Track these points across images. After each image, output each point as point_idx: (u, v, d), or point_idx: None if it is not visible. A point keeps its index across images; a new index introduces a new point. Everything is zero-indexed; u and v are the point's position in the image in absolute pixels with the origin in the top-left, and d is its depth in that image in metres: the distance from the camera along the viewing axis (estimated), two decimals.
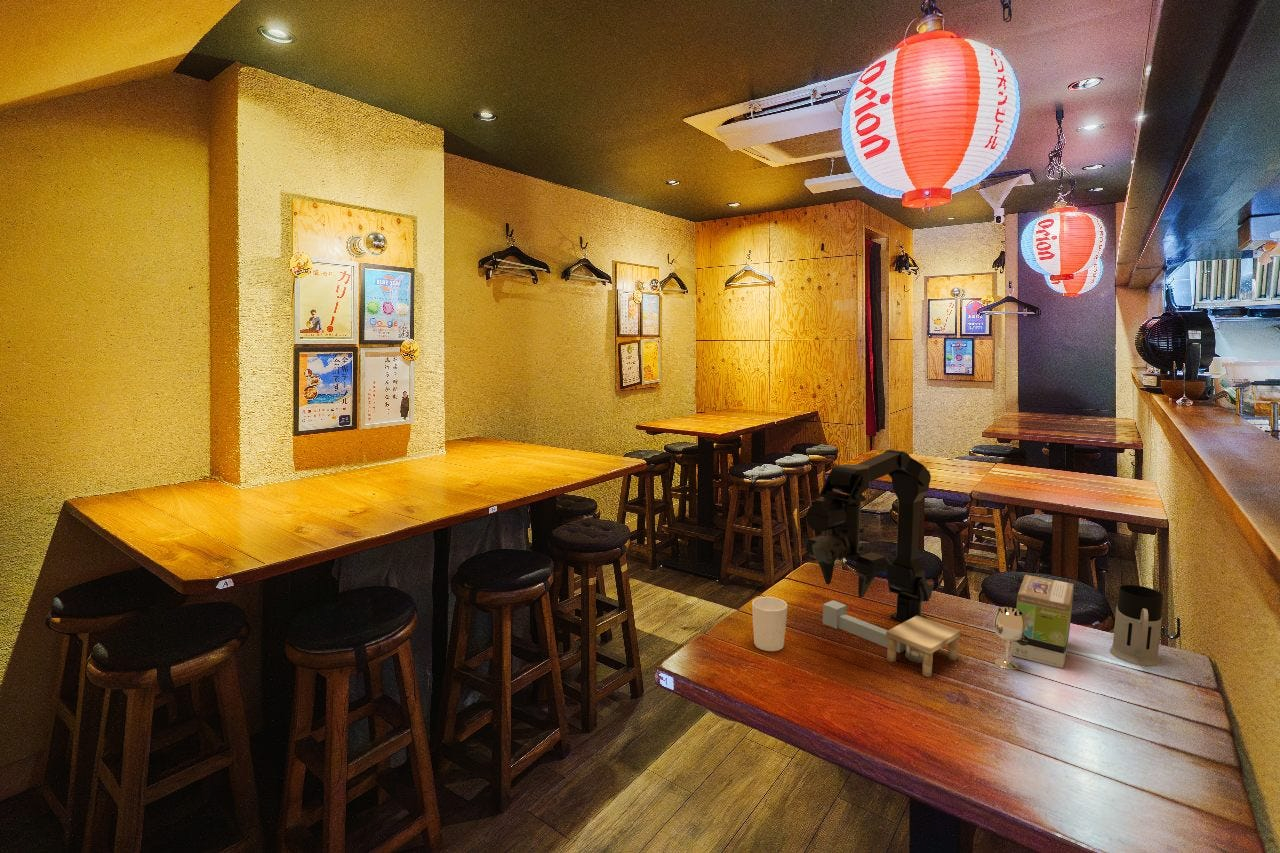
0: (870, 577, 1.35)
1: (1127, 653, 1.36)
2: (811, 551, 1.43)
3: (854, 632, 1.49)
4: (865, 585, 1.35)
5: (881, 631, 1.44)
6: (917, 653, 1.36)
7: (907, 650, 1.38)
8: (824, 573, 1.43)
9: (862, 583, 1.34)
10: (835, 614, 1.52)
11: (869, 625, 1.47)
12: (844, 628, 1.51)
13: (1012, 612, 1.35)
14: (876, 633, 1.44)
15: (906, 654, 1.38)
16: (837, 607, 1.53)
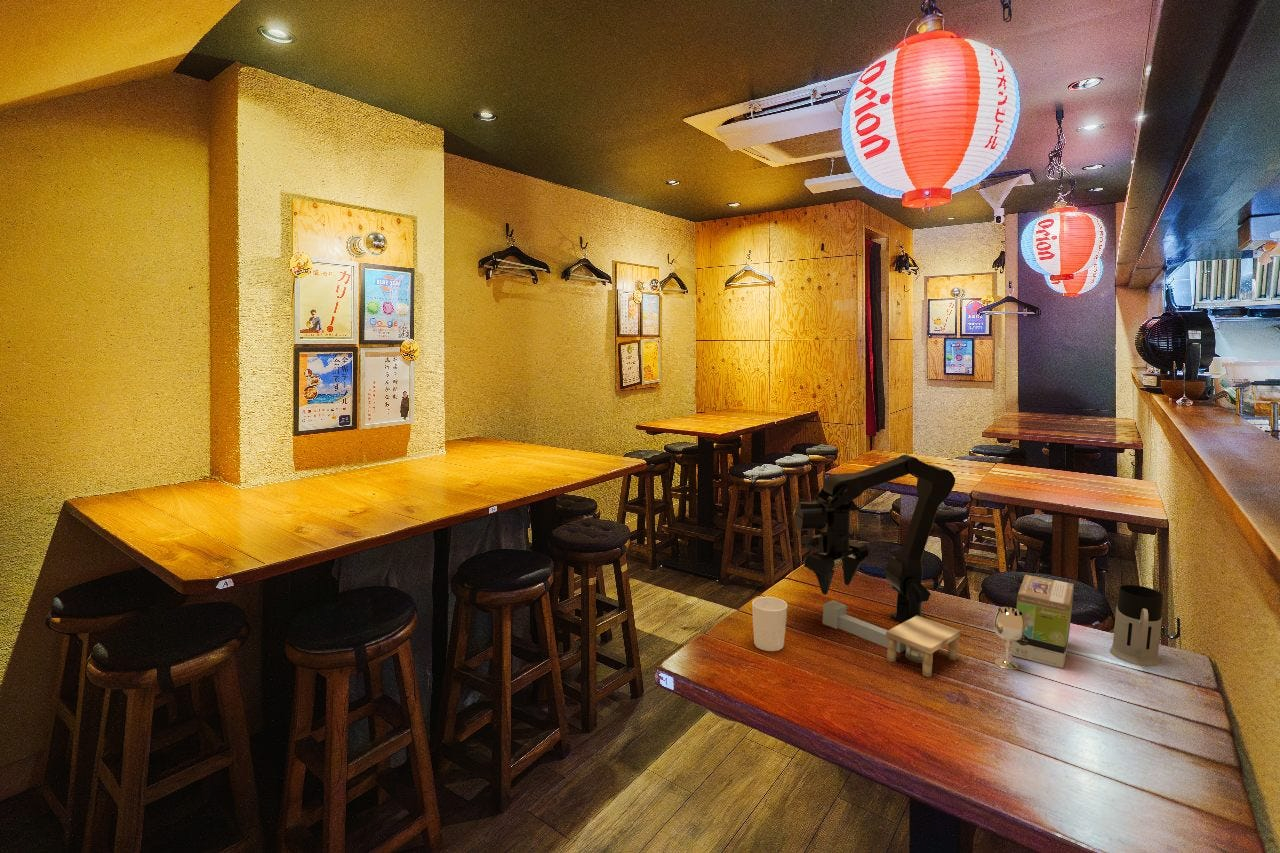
0: (825, 577, 1.49)
1: (1127, 653, 1.36)
2: None
3: (854, 632, 1.49)
4: (822, 583, 1.50)
5: (881, 631, 1.44)
6: (917, 653, 1.36)
7: (907, 650, 1.38)
8: None
9: None
10: (835, 614, 1.52)
11: (869, 625, 1.47)
12: (844, 628, 1.51)
13: (1012, 612, 1.35)
14: (876, 633, 1.44)
15: (906, 654, 1.38)
16: (837, 607, 1.53)
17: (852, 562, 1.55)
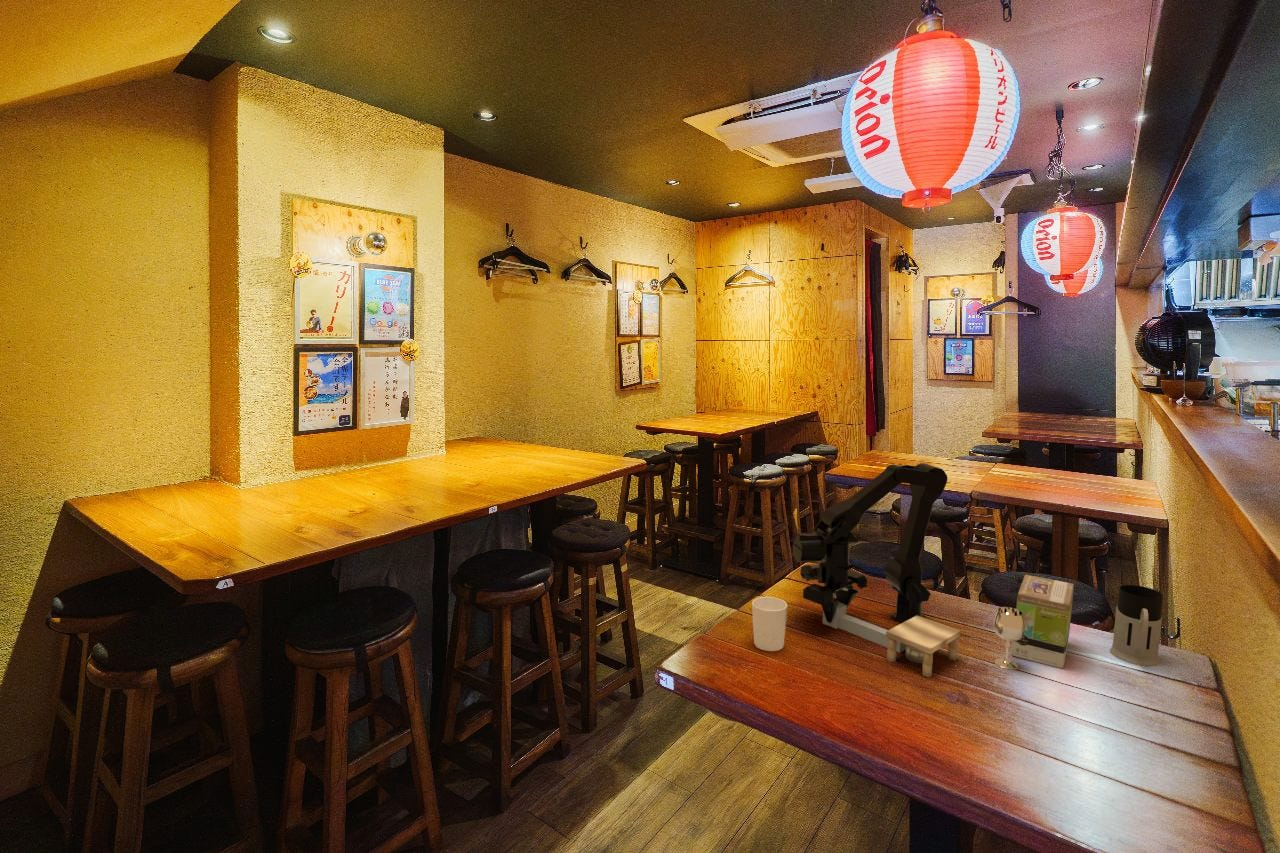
0: (829, 606, 1.51)
1: (1127, 653, 1.36)
2: None
3: (854, 632, 1.49)
4: (826, 611, 1.53)
5: (881, 631, 1.44)
6: (917, 653, 1.36)
7: (907, 650, 1.38)
8: None
9: None
10: (835, 614, 1.52)
11: (869, 625, 1.47)
12: (844, 628, 1.51)
13: (1012, 612, 1.35)
14: (876, 633, 1.44)
15: (906, 654, 1.38)
16: (837, 607, 1.53)
17: (845, 595, 1.55)
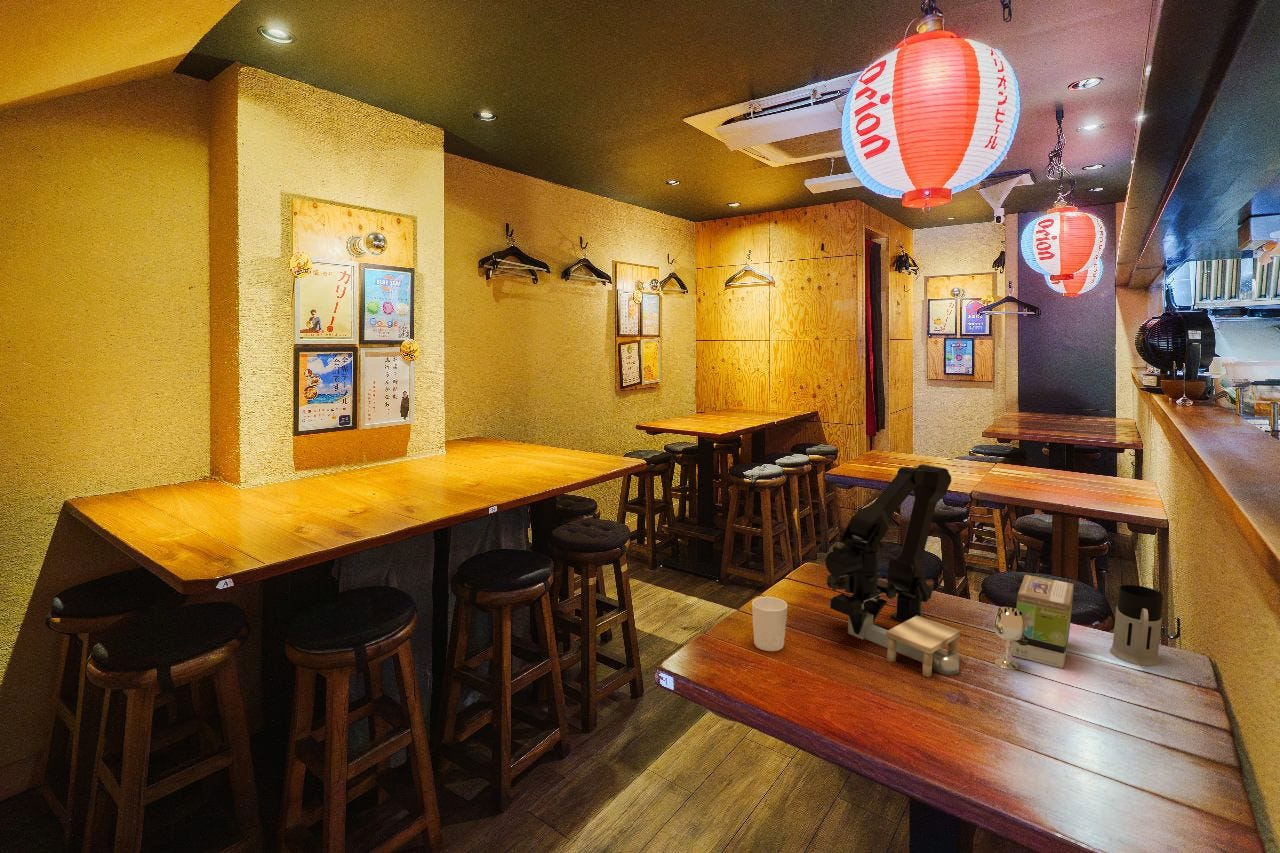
0: (858, 617, 1.45)
1: (1127, 653, 1.36)
2: None
3: (882, 643, 1.44)
4: (854, 622, 1.47)
5: None
6: (945, 664, 1.31)
7: (935, 661, 1.33)
8: None
9: None
10: None
11: None
12: (871, 639, 1.46)
13: (1012, 612, 1.35)
14: (906, 645, 1.39)
15: (933, 664, 1.33)
16: None
17: (873, 605, 1.49)
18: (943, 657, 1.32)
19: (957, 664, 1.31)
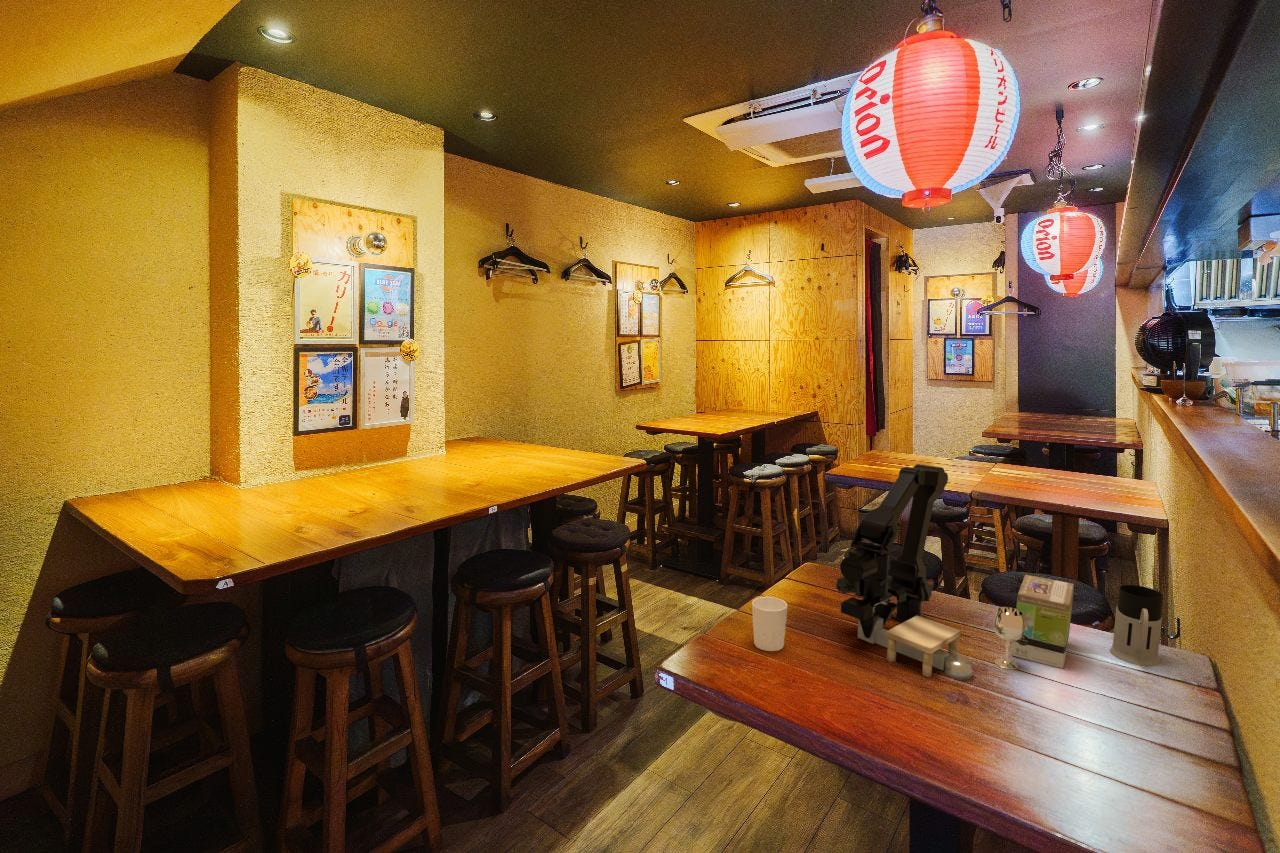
0: (868, 621, 1.43)
1: (1127, 653, 1.36)
2: None
3: None
4: (865, 626, 1.44)
5: None
6: (958, 670, 1.29)
7: (947, 666, 1.31)
8: None
9: None
10: None
11: None
12: (881, 643, 1.44)
13: (1012, 612, 1.35)
14: (917, 649, 1.37)
15: (946, 670, 1.31)
16: None
17: (884, 609, 1.47)
18: (955, 662, 1.30)
19: (970, 669, 1.29)
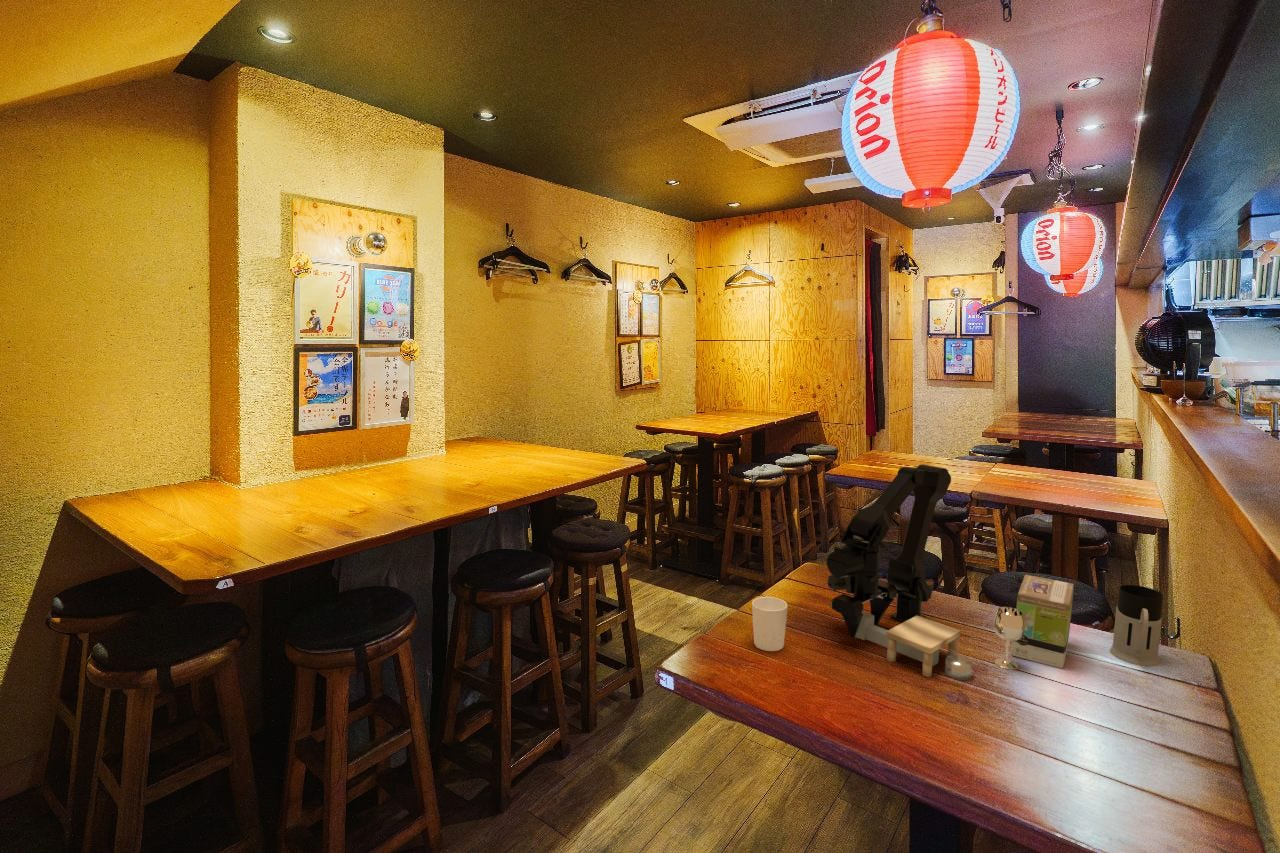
0: (853, 620, 1.44)
1: (1127, 653, 1.36)
2: None
3: (883, 644, 1.43)
4: (850, 625, 1.45)
5: None
6: (958, 670, 1.29)
7: (947, 666, 1.31)
8: None
9: None
10: (862, 625, 1.46)
11: None
12: (872, 639, 1.46)
13: (1012, 612, 1.35)
14: (907, 645, 1.39)
15: (946, 670, 1.31)
16: (865, 617, 1.47)
17: (880, 603, 1.50)
18: (955, 662, 1.30)
19: (970, 669, 1.29)
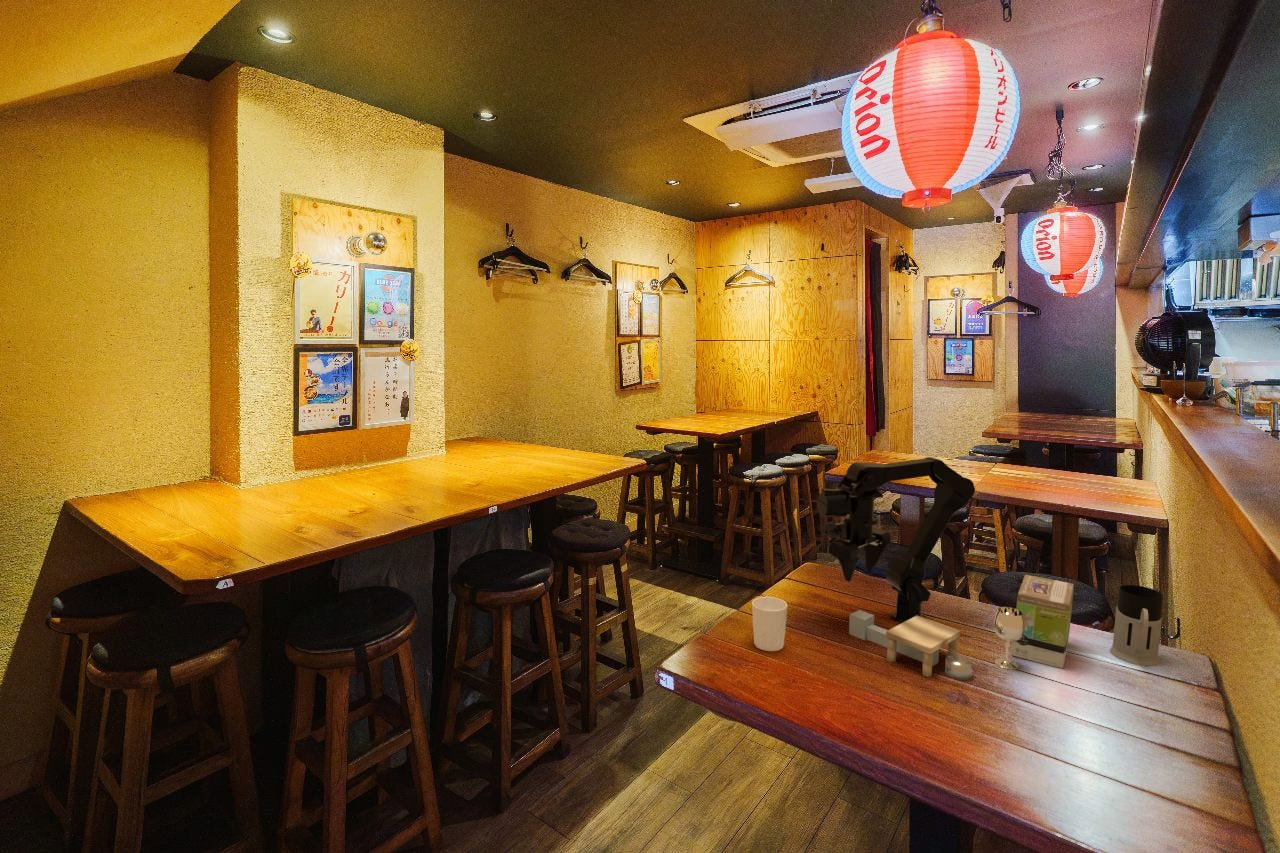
0: (849, 564, 1.49)
1: (1127, 653, 1.36)
2: None
3: (883, 644, 1.43)
4: (845, 570, 1.50)
5: None
6: (958, 670, 1.29)
7: (947, 666, 1.31)
8: None
9: None
10: (862, 625, 1.46)
11: None
12: (872, 639, 1.46)
13: (1012, 612, 1.35)
14: (907, 645, 1.39)
15: (946, 670, 1.31)
16: (865, 617, 1.47)
17: (874, 549, 1.55)
18: (955, 662, 1.30)
19: (970, 669, 1.29)
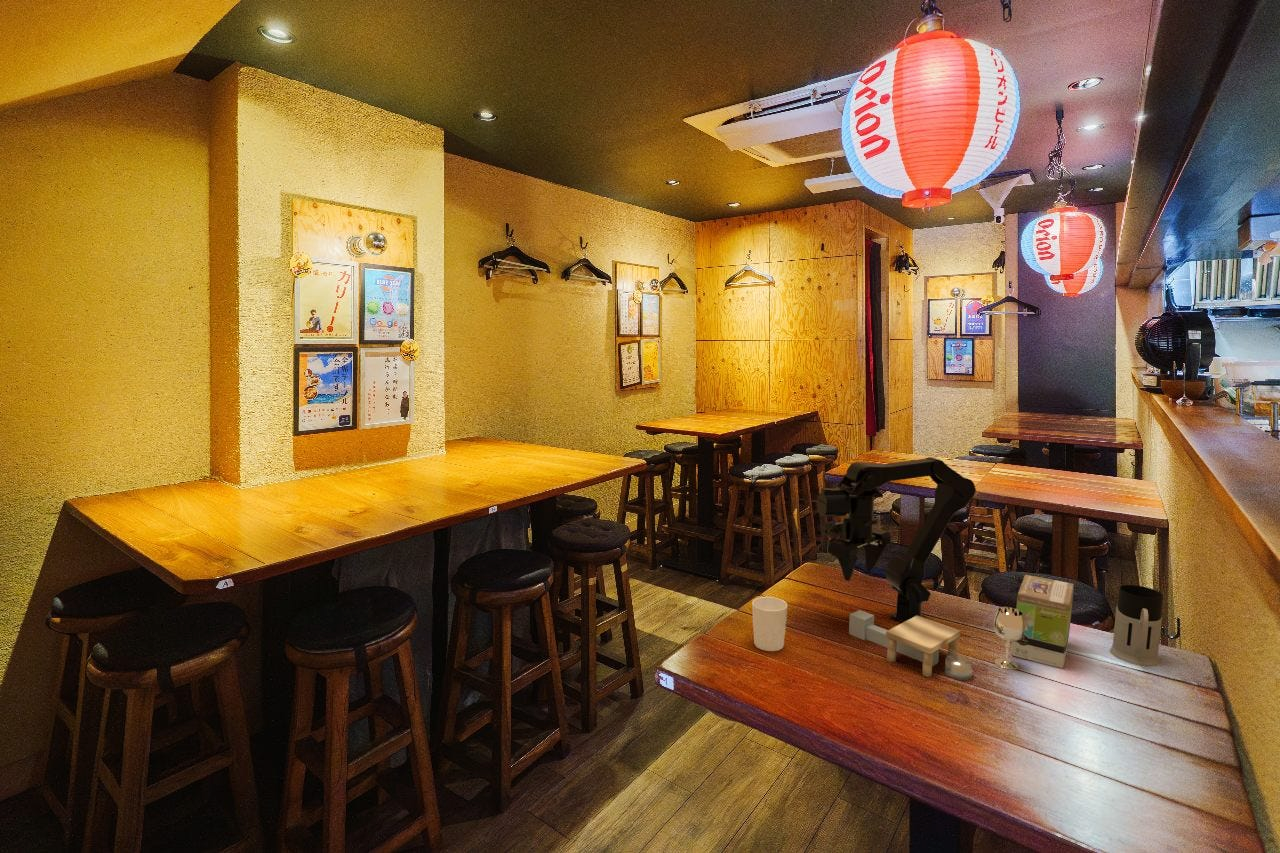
0: (848, 563, 1.49)
1: (1127, 653, 1.36)
2: None
3: (883, 644, 1.43)
4: (845, 569, 1.50)
5: None
6: (958, 670, 1.29)
7: (947, 666, 1.31)
8: None
9: None
10: (862, 625, 1.46)
11: None
12: (872, 639, 1.46)
13: (1012, 612, 1.35)
14: (907, 645, 1.39)
15: (946, 670, 1.31)
16: (865, 617, 1.47)
17: (874, 549, 1.56)
18: (955, 662, 1.30)
19: (970, 669, 1.29)
